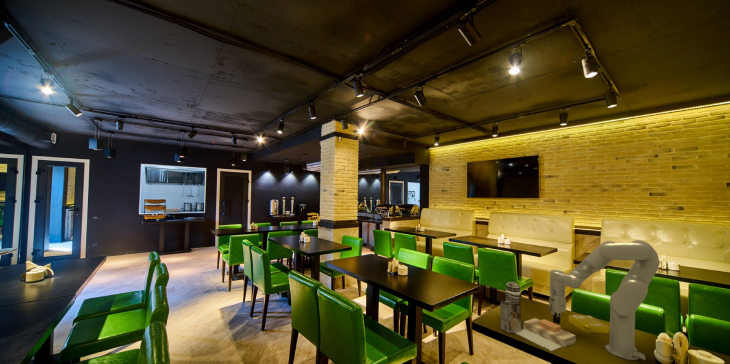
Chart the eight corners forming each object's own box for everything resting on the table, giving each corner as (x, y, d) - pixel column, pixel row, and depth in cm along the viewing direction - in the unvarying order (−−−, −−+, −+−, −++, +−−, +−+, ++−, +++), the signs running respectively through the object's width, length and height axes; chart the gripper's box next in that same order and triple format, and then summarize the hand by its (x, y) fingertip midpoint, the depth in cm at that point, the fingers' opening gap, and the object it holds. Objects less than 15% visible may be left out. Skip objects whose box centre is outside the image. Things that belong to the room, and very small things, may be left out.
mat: (561, 346, 148) (561, 346, 148) (551, 351, 143) (551, 350, 143) (524, 329, 165) (524, 328, 165) (514, 332, 160) (514, 332, 160)
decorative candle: (523, 327, 168) (524, 285, 168) (508, 326, 168) (509, 285, 168) (515, 320, 177) (517, 280, 177) (501, 319, 177) (502, 280, 177)
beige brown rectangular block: (575, 342, 153) (575, 335, 153) (563, 347, 147) (564, 340, 147) (534, 324, 172) (535, 317, 172) (523, 328, 166) (523, 321, 166)
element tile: (586, 333, 164) (586, 325, 164) (567, 321, 179) (567, 313, 179) (610, 334, 165) (611, 326, 165) (589, 321, 180) (589, 314, 180)
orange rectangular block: (560, 330, 157) (560, 326, 157) (555, 332, 155) (555, 328, 155) (544, 323, 165) (544, 319, 165) (538, 325, 162) (538, 321, 162)
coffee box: (512, 326, 168) (512, 299, 169) (521, 331, 162) (521, 303, 163) (500, 328, 165) (500, 300, 166) (508, 333, 159) (508, 304, 160)
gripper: (557, 296, 157) (556, 328, 157) (571, 292, 164) (570, 323, 164) (543, 291, 164) (542, 322, 163) (557, 287, 171) (556, 317, 170)
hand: (556, 322), depth 164 cm, fingers closed
